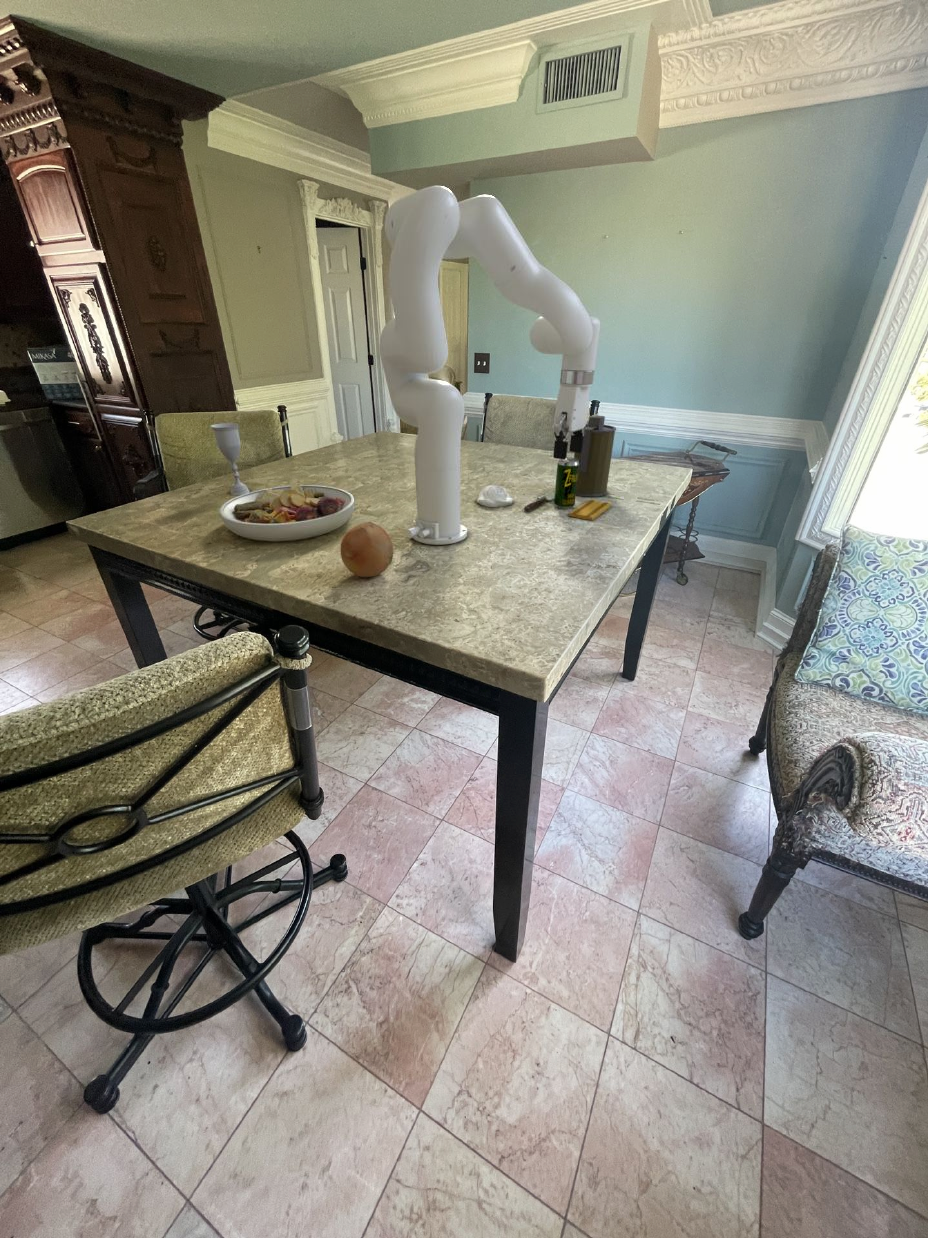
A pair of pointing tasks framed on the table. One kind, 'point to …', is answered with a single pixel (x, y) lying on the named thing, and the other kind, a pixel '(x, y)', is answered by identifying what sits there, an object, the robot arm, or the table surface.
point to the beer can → (566, 483)
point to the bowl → (288, 512)
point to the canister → (595, 458)
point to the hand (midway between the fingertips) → (567, 455)
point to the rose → (494, 497)
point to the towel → (590, 509)
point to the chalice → (230, 450)
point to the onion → (366, 550)
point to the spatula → (540, 500)
